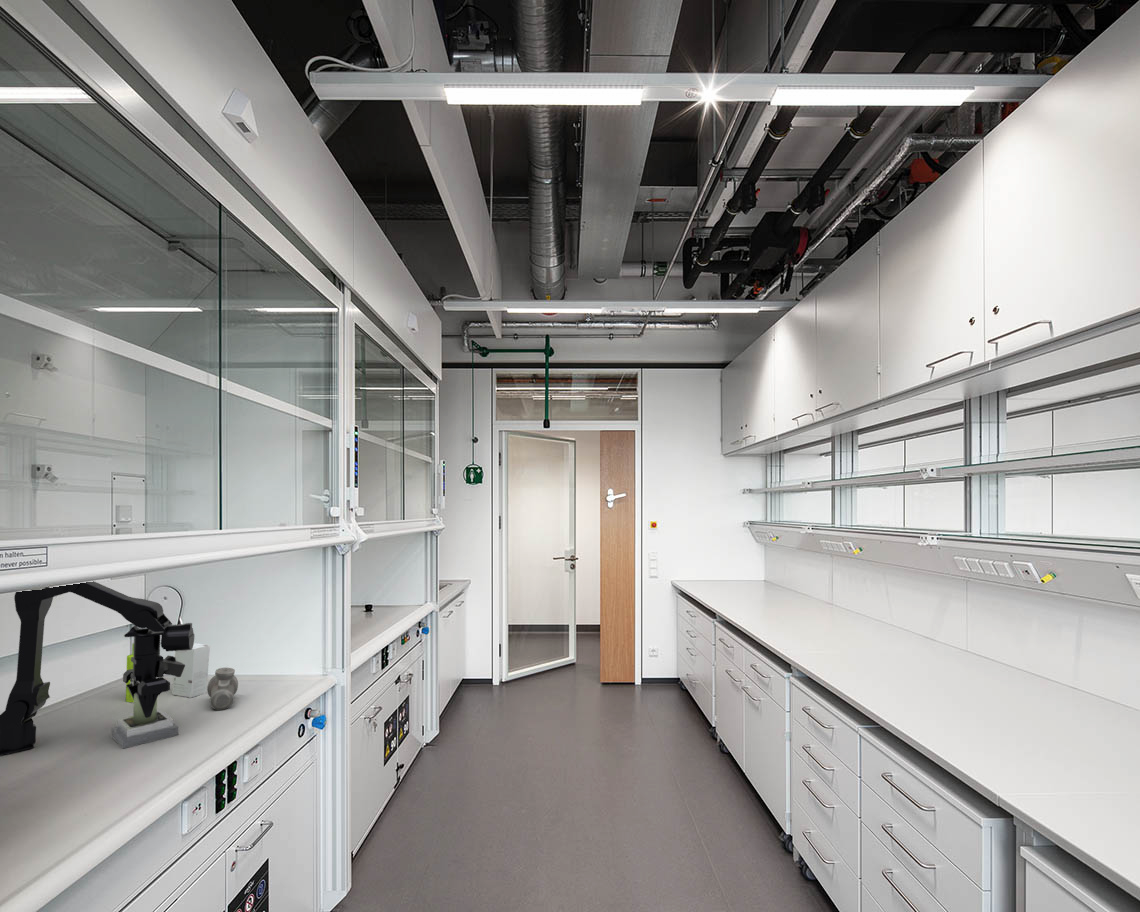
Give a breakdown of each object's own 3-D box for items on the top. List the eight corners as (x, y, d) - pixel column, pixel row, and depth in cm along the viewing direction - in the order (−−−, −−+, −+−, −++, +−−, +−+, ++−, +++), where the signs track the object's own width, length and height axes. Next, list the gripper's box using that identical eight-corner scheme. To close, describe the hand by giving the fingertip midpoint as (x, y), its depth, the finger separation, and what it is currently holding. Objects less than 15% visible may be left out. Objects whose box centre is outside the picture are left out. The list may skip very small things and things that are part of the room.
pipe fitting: (206, 698, 194) (210, 664, 194) (236, 697, 198) (240, 663, 197) (203, 716, 183) (207, 680, 183) (235, 714, 187) (239, 678, 187)
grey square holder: (122, 748, 158) (123, 731, 159) (110, 735, 167) (111, 719, 167) (178, 734, 167) (178, 719, 167) (164, 723, 175) (164, 708, 175)
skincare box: (171, 695, 199) (172, 646, 200) (189, 689, 205) (190, 641, 206) (192, 698, 196) (193, 648, 197) (209, 692, 202) (210, 643, 203)
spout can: (136, 725, 163) (137, 689, 164) (130, 721, 167) (131, 685, 167) (159, 720, 167) (159, 684, 167) (153, 716, 170) (154, 680, 171)
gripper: (193, 653, 167) (191, 715, 166) (171, 641, 180) (169, 699, 179) (142, 661, 159) (141, 727, 158) (123, 648, 172) (121, 709, 171)
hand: (145, 714), depth 167 cm, fingers closed on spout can, 5 cm apart
